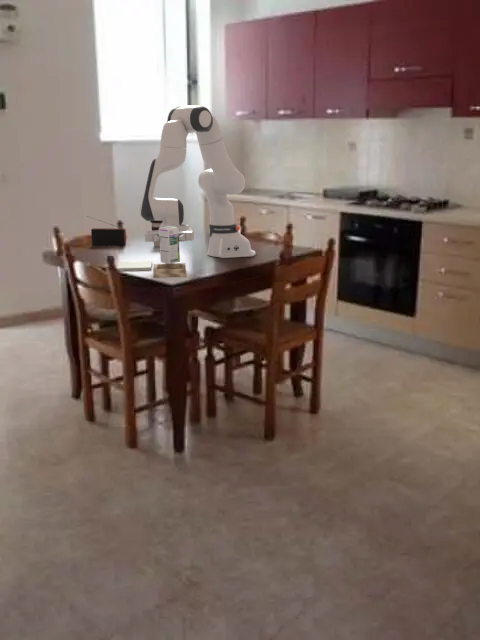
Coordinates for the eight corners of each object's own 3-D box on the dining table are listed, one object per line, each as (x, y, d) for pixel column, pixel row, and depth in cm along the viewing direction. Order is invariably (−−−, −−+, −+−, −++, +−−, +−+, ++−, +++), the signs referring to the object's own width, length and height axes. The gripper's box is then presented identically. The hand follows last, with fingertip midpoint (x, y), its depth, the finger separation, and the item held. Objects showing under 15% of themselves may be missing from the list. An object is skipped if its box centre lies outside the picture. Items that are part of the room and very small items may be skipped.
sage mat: (152, 263, 320) (152, 260, 320) (150, 270, 306) (150, 267, 306) (119, 264, 319) (119, 261, 318) (117, 270, 305) (117, 268, 305)
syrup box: (169, 264, 294) (168, 228, 290) (160, 262, 298) (158, 227, 294) (180, 262, 298) (179, 226, 294) (170, 260, 302) (169, 225, 298)
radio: (126, 245, 366) (124, 215, 362) (124, 246, 363) (123, 216, 359) (90, 245, 367) (88, 215, 363) (88, 246, 365) (86, 216, 360)
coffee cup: (168, 243, 369) (167, 213, 365) (173, 246, 360) (172, 216, 356) (149, 244, 366) (148, 214, 362) (153, 248, 357) (152, 217, 353)
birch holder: (185, 270, 306) (185, 263, 305) (185, 276, 294) (185, 269, 293) (154, 270, 305) (154, 263, 304) (153, 277, 293) (153, 270, 292)
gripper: (144, 226, 306) (142, 232, 293) (193, 225, 308) (193, 230, 295) (145, 241, 308) (143, 247, 295) (193, 239, 310) (194, 245, 296)
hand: (169, 239), depth 295 cm, fingers closed on syrup box, 8 cm apart
